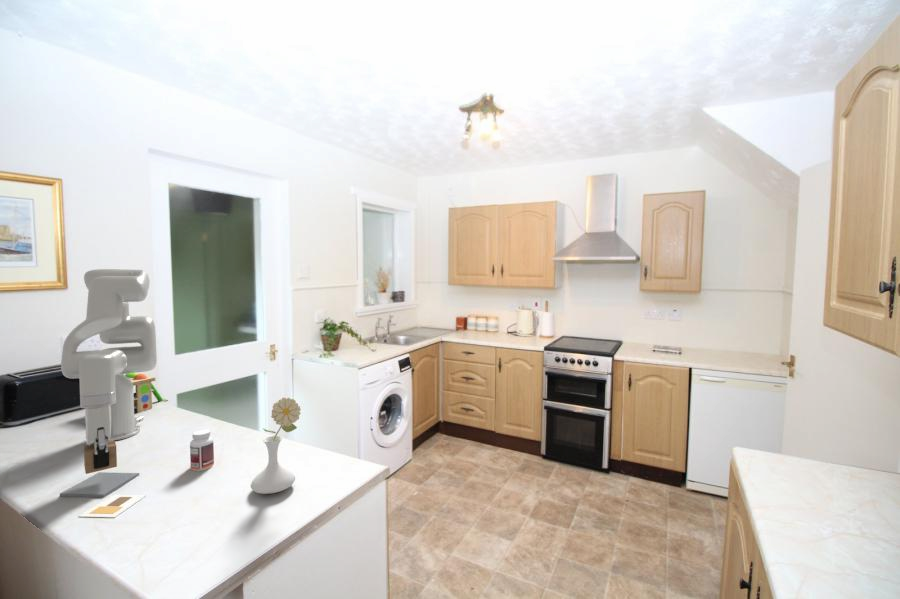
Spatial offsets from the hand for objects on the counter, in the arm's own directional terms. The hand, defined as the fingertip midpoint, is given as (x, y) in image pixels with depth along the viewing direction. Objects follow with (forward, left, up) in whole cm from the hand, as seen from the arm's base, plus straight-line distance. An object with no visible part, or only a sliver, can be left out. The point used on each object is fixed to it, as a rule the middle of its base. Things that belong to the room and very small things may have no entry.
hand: (100, 462), depth 115 cm
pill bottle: (-12, +21, -7) cm, 25 cm away
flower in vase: (-1, +49, -7) cm, 49 cm away
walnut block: (0, 0, -1) cm, 1 cm away
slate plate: (0, 0, -7) cm, 7 cm away
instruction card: (+10, +12, -7) cm, 17 cm away
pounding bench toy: (-61, -37, -7) cm, 72 cm away
